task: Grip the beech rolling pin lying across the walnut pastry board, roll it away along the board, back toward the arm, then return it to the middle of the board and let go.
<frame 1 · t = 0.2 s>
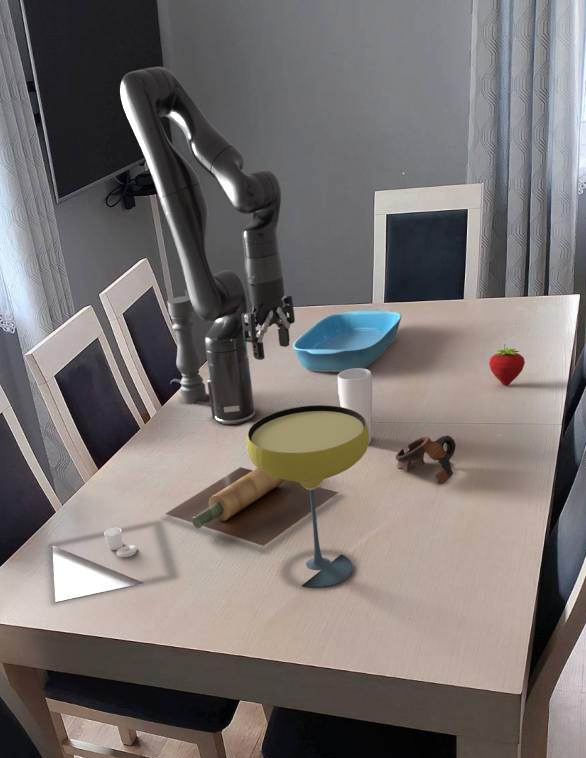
hand: (272, 352, 186), 17 cm above the table, tool pointing down, fingers open, 8 cm apart
drinking glass: (358, 443, 181), on the table
rolling pin: (247, 490, 162), point 4 cm above the table, slide at 6.0 cm
cocktail glass: (319, 570, 142), on the table
pastry board: (251, 508, 163), on the table
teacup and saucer: (109, 561, 155), on the table
strawberry: (506, 386, 195), on the table
candle holder: (194, 399, 218), on the table
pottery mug: (429, 473, 165), on the table
casserole dish: (349, 355, 229), on the table
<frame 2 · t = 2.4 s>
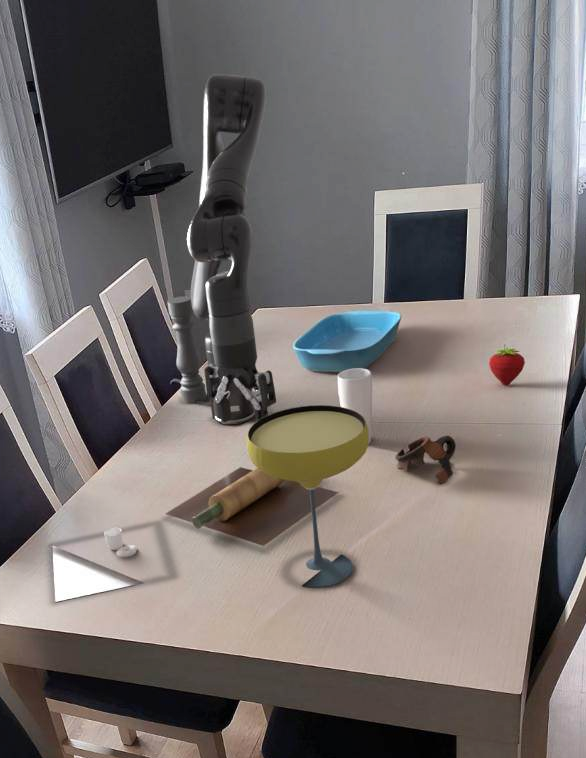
hand: (244, 423, 158), 16 cm above the table, tool pointing down, fingers open, 8 cm apart
nothing on the table moved.
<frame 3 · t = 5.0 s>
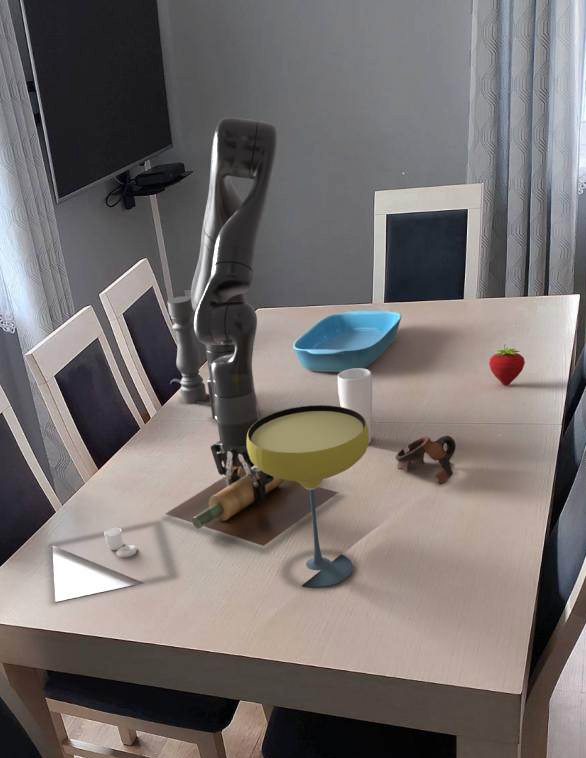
hand: (248, 498, 163), 2 cm above the table, tool pointing down, fingers closed on rolling pin, 5 cm apart
rolling pin: (247, 490, 162), point 4 cm above the table, slide at 6.0 cm, touching gripper
everything else where it was.
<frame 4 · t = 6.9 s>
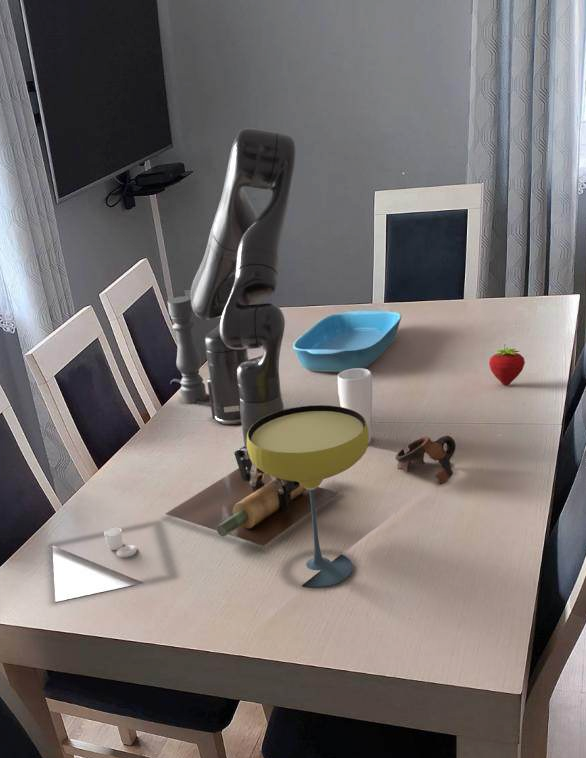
hand: (273, 505, 159), 2 cm above the table, tool pointing down, fingers closed on rolling pin, 5 cm apart
rolling pin: (272, 496, 158), point 4 cm above the table, slide at 11.9 cm, touching gripper
everything else where it was.
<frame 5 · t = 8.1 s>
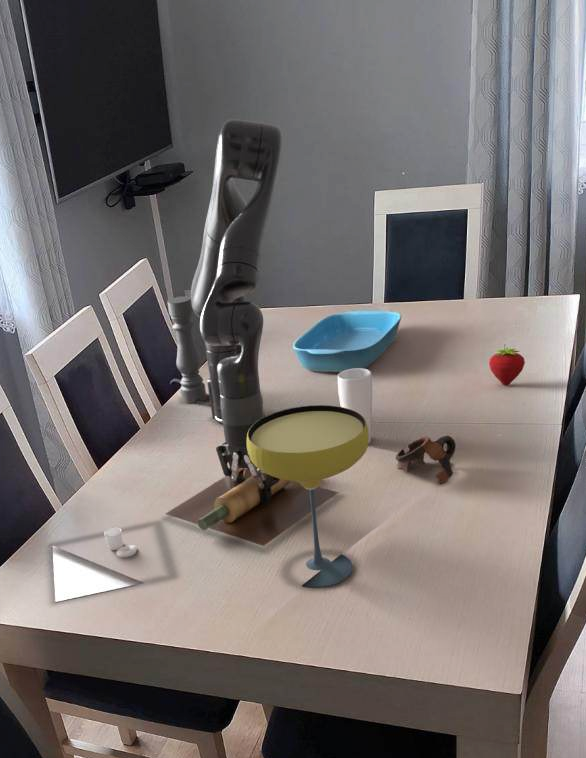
hand: (254, 500, 162), 2 cm above the table, tool pointing down, fingers closed on rolling pin, 5 cm apart
rolling pin: (253, 491, 161), point 4 cm above the table, slide at 7.4 cm, touching gripper
everything else where it was.
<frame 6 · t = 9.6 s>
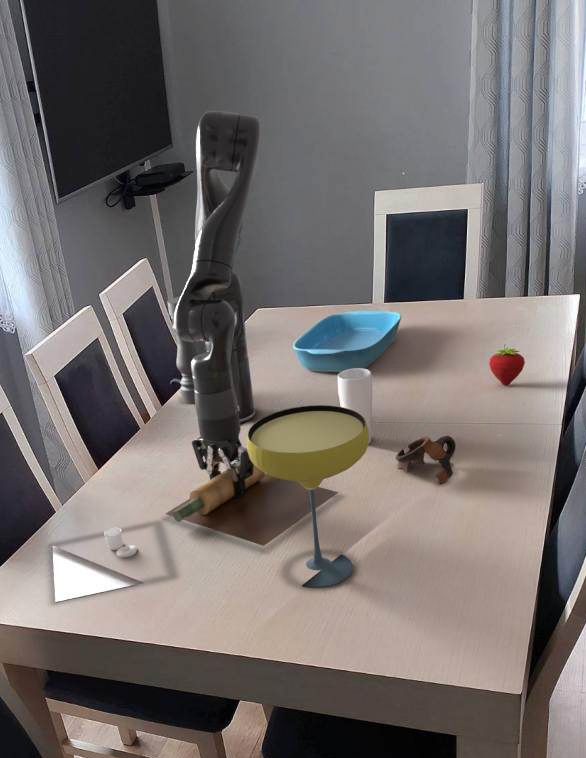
hand: (228, 493, 166), 2 cm above the table, tool pointing down, fingers closed on rolling pin, 5 cm apart
rolling pin: (227, 484, 165), point 4 cm above the table, slide at 1.2 cm, touching gripper
everything else where it was.
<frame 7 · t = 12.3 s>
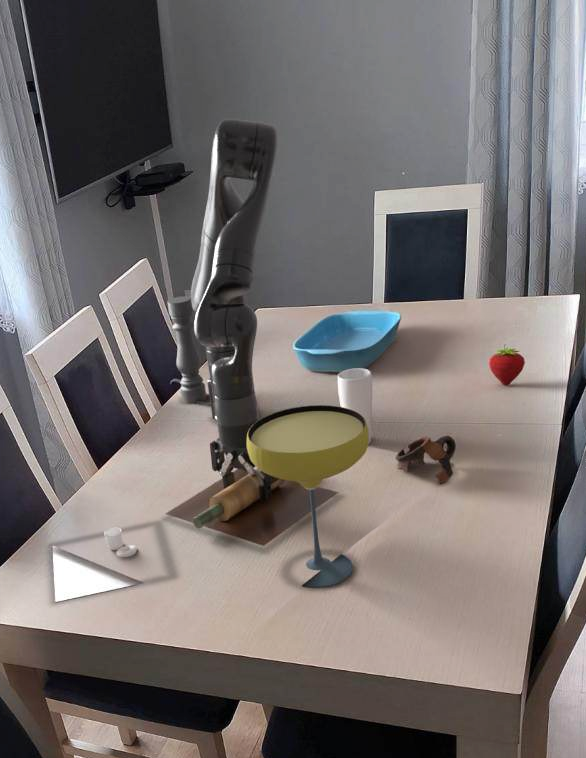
hand: (248, 496, 162), 2 cm above the table, tool pointing down, fingers open, 8 cm apart
rolling pin: (248, 490, 162), point 4 cm above the table, slide at 6.2 cm
everything else where it was.
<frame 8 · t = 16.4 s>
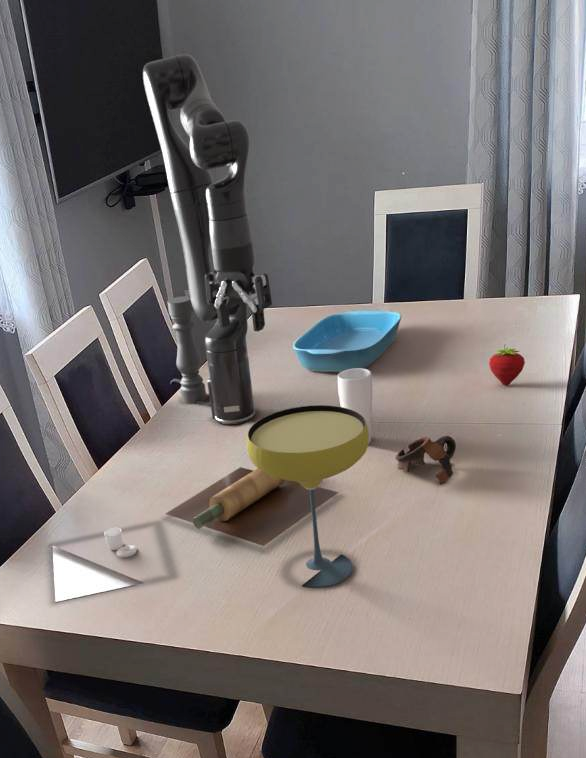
hand: (241, 328, 167), 28 cm above the table, tool pointing down, fingers open, 8 cm apart
nothing on the table moved.
at the end: rolling pin pulled out 11.9 cm at the most during the clip, back to 6.2 cm at the end; rolling pin pulled out 1.2 cm at the most during the clip, back to 6.2 cm at the end; rolling pin slide at 6.2 cm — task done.
